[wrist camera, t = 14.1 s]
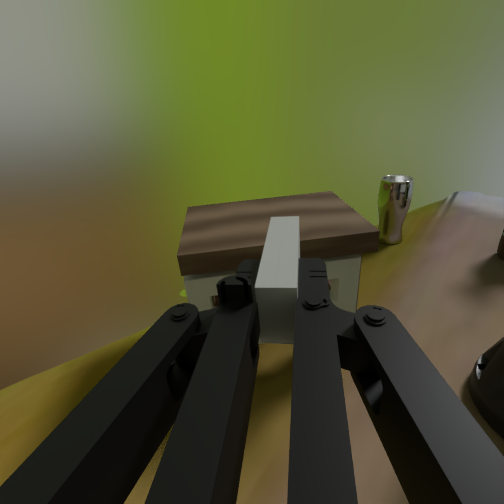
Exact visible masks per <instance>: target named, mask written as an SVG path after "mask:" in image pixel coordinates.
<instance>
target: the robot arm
mask: <svg viewBox="0 0 504 504" xmlns="http://www.w3.org/2000/svg"><path fill="white" fill-rule="evenodd" d="M216 287H217V292H218V298H219V305H218V306H217V307H215V308H212V309H208V310H204V311H198V308H197V307H196V306H195V305H193V304H190V303H183V304H177V305H175V306H173V307H171V308H170V309H168V310H167V311H166V312H165V313H164V314H163V315H162V316H161V317H160V318H159V319H158V320H157V321H156V322H155V324H154V325H153V326H152V327H151V328H150V329H149V330H148V331H147V332H146V333H145V334H144V335H143V336H142V337H141V338H140V339H139V340H138V341H137V343H136V344H135V345H134V346H133V347H132V348H131V349H130V350H129V351H128V352H127V353H126V354H125V355H124V356H123V357H122V358H121V359H120V361H119V362H118V363H117V364H116V365H115V366H114V367H113V368H112V369H111V370H110V371H109V372H108V373H107V374H106V375H105V376H104V377H103V379H102V380H101V381H100V382H99V383H98V384H97V385H96V386H95V387H94V388H93V389H92V390H91V391H90V392H89V393H88V394H87V395H86V397H85V398H84V399H83V400H82V401H81V402H80V403H79V404H78V405H77V406H76V407H75V408H74V409H73V410H72V411H71V412H70V413H69V415H68V416H67V417H66V418H65V419H64V420H63V421H62V422H61V423H60V424H59V425H58V426H57V427H56V428H55V429H54V430H53V431H52V433H51V434H50V435H49V436H48V437H47V438H46V439H45V440H44V441H43V442H42V443H41V444H40V445H39V446H38V447H37V448H36V449H35V451H34V452H33V453H32V454H31V455H30V456H29V457H28V458H27V459H26V460H25V461H24V462H23V463H22V464H21V465H20V466H19V467H18V469H17V470H16V471H15V472H14V473H13V474H12V475H11V476H10V477H9V478H8V479H7V480H6V481H5V482H4V483H3V484H2V485H1V487H0V504H124V502H125V500H126V499H127V497H128V496H129V494H130V492H131V491H132V489H133V488H134V486H135V484H136V483H137V481H138V480H139V478H140V476H141V475H142V473H143V472H144V470H145V468H146V467H147V465H148V463H149V462H150V460H151V459H152V457H153V455H154V454H155V452H156V451H157V449H158V447H159V446H160V444H161V443H162V441H163V439H164V438H165V436H166V435H167V433H168V431H169V430H170V428H171V427H172V425H173V423H174V422H175V423H174V426H173V429H172V431H171V434H170V437H169V439H168V442H167V445H166V447H165V450H164V453H163V455H162V458H161V461H160V463H159V466H158V469H157V472H156V474H155V477H154V480H153V482H152V485H151V488H150V490H149V493H148V496H147V498H146V501H145V504H236V500H237V494H238V488H239V481H240V475H241V468H242V462H243V455H244V449H245V443H246V436H247V430H248V423H249V417H250V410H251V404H252V397H253V391H254V385H255V378H256V372H257V365H258V359H259V345H258V343H259V337H260V341H261V343H283V344H294V351H293V375H292V400H291V425H290V449H289V474H288V498H287V504H358V501H357V493H356V485H355V477H354V469H353V461H352V453H351V445H350V437H349V430H348V422H347V414H346V406H345V398H344V390H343V382H342V374H341V368H342V369H346V370H349V371H350V373H351V376H352V378H353V381H354V383H355V385H356V387H357V389H358V392H359V394H360V396H361V398H362V400H363V403H364V405H365V407H366V409H367V411H368V414H369V416H370V418H371V420H372V422H373V425H374V427H375V429H376V431H377V433H378V436H379V438H380V440H381V442H382V444H383V447H384V449H385V451H386V453H387V455H388V458H389V460H390V462H391V464H392V466H393V469H394V471H395V473H396V475H397V477H398V480H399V482H400V484H401V486H402V488H403V491H404V493H405V495H406V497H407V499H408V502H409V504H504V456H503V455H502V454H501V452H500V451H499V450H498V448H497V447H496V446H495V445H494V443H493V442H492V441H491V439H490V438H489V437H488V435H487V434H486V433H485V432H484V430H483V429H482V428H481V426H480V425H479V424H478V422H477V421H476V420H475V419H474V417H473V416H472V415H471V413H470V412H469V411H468V410H467V408H466V407H465V406H464V404H463V403H462V402H461V400H460V399H459V398H458V397H457V395H456V394H455V393H454V391H453V390H452V389H451V387H450V386H449V385H448V384H447V382H446V381H445V380H444V378H443V377H442V376H441V374H440V373H439V372H438V371H437V369H436V368H435V367H434V365H433V364H432V363H431V361H430V360H429V359H428V358H427V356H426V355H425V354H424V352H423V351H422V350H421V348H420V347H419V346H418V345H417V343H416V342H415V341H414V339H413V338H412V337H411V335H410V334H409V333H408V332H407V330H406V329H405V328H404V326H403V325H402V324H401V322H400V321H399V320H398V319H397V317H396V316H395V315H394V314H393V313H392V312H391V311H390V310H387V309H385V308H383V307H380V306H375V305H367V306H363V307H360V308H359V309H358V310H356V312H355V313H353V312H349V311H345V310H342V309H340V308H338V307H337V306H335V305H334V304H333V303H332V301H331V299H330V294H329V286H328V278H327V269H326V264H325V262H324V261H323V260H322V259H321V258H300V233H299V216H287V217H271V219H270V224H269V228H268V232H267V236H266V241H265V245H264V249H263V253H262V258H261V259H245V260H244V261H243V262H241V263H240V264H239V265H238V268H237V271H236V274H235V275H230V276H227V277H224V278H223V279H221V280H219V281H218V283H217V284H216ZM469 387H470V392H471V396H472V398H473V401H474V403H475V405H476V407H477V408H478V410H479V411H480V413H481V414H482V416H483V417H484V418H485V420H486V421H487V422H488V423H489V424H490V425H491V427H492V428H493V429H494V430H495V431H496V432H497V433H498V434H500V435H501V436H502V437H503V438H504V337H503V338H502V339H500V340H499V341H498V342H497V343H496V344H494V345H493V346H492V347H491V348H490V349H488V350H487V351H486V352H485V353H484V354H482V355H481V356H480V357H479V359H478V360H477V361H476V363H475V365H474V368H473V371H472V373H471V376H470V380H469Z"/></svg>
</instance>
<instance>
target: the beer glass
mask: <svg viewBox="0 0 504 504" xmlns="http://www.w3.org/2000/svg"><path fill="white" fill-rule="evenodd" d="M413 180H414V179H413V177H411V176H407V175H386V176H383V177H382V178H381V183H380V189H379V194H378V216H379V225H378V230H380V236H379V242H380V243H384V244H398V243H400V242H401V241H402V227H403V223H404V220H405V217H406V215H407V212H408V209H409V206H410V203H411V197H412V191H413Z"/></svg>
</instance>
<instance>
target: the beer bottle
mask: <svg viewBox="0 0 504 504" xmlns="http://www.w3.org/2000/svg"><path fill="white" fill-rule="evenodd" d="M497 252H498V255H499V256H500V258H501V259H502V260H504V230H503V233H502V236H501V239H500V242H499V246H498V250H497Z"/></svg>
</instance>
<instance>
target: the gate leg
mask: <svg viewBox="0 0 504 504" xmlns="http://www.w3.org/2000/svg"><path fill="white" fill-rule="evenodd" d="M321 259H322V260H323V261H324V262H325V264H326V269H327V278H328V280H330V279H331V290H330V291H329V294H330V299H331V301H332V303H333V304H334V305H335V306H337V307H338V308H340V309H342V310H345V311H349V312H353V313H355V312H356V303H357V293H358V283H359V274H360V264H361V257H360V255H359V254H351V255H343V256H335V257H327V258H321ZM236 271H237V269H233V270H225V271H217V272H209V273H201V274H193V275H185V276H184V284H185V289H186V293H187V298H188V301H189V303H190V304H193V305H195V306H196V307H197V308H198V311H204V310H208V309H212V308H215V307H213V301H212V296H215V295H218V292H217V287H216V284H217V283H218V281H219V280H221V279H223V278H224V277H227V276H230V275H235V274H236ZM258 344H261V341H260V337H259V343H258Z"/></svg>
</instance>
